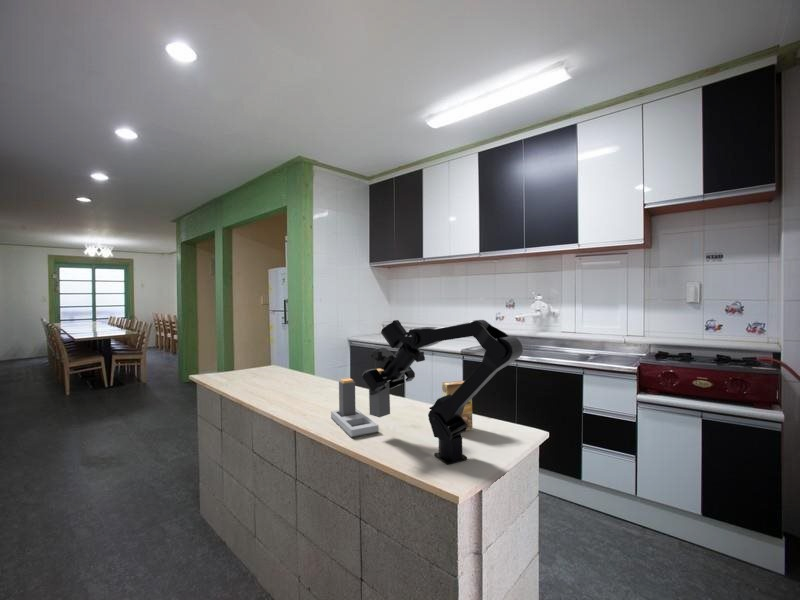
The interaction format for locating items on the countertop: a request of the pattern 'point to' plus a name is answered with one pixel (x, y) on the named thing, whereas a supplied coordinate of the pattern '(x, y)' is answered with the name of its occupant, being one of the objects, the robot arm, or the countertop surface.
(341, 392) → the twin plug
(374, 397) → the orange grey tall block
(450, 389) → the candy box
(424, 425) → the countertop surface
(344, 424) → the light grey recessed block
